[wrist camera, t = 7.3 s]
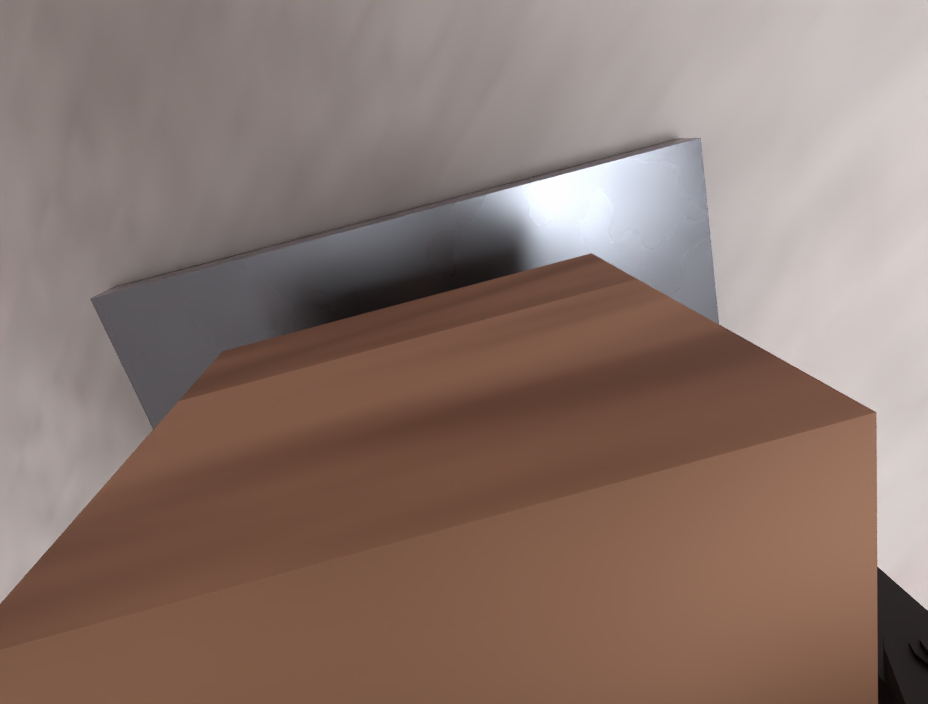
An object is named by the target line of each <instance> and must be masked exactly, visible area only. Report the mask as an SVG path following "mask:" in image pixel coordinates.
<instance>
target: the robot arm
mask: <svg viewBox="0 0 928 704" xmlns="http://www.w3.org/2000/svg"><path fill="white" fill-rule="evenodd" d="M877 633H878V704H928V611H927V610H926V609H925V608H924V607H923V606H921V605H920V604H919V603H918V602H917V601H916V600H915V599H913V598H912V597H911V596H910V595H909V594H908V593H907V592H905V591H904V590H903V589H902V588H901V587H900V586H899V585H898V584H896V583H895V582H894V581H893V580H892V579H891V578H890V577H888V576H887V575H886V574H885V573H884V572H883V571H882V570H881V569H879V568H878V567H877Z"/></svg>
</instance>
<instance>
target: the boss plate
mask: <svg viewBox="0 0 928 704" xmlns="http://www.w3.org/2000/svg"><path fill="white" fill-rule="evenodd" d="M590 253H592V254H594V255H595V256H597V257H599V258H601V259H603V260H604V261H606V262H608V263H610V264H612V265H613V266H615V267H617V268H619V269H620V270H622V271H624V272H626V273H628V274H629V275H631V276H633V277H635V278H637V279H638V280H640V281H642V282H644V283H646V284H647V285H649V286H651V287H653V288H654V289H656V290H658V291H660V292H662V293H663V294H665V295H667V296H669V297H671V298H672V299H674V300H676V301H678V302H679V303H681V304H683V305H685V306H687V307H688V308H690V309H692V310H694V311H696V312H697V313H699V314H701V315H703V316H705V317H706V318H708V319H710V320H712V321H713V322H715V323H717V324H719V320H718V310H717V300H716V290H715V280H714V270H713V260H712V250H711V240H710V230H709V219H708V209H707V199H706V189H705V179H704V169H703V159H702V149H701V139H700V138H680V139H676V140H672V141H668V142H665V143H661V144H657V145H653V146H649V147H646V148H642V149H638V150H634V151H630V152H627V153H623V154H619V155H615V156H611V157H608V158H604V159H600V160H596V161H592V162H589V163H585V164H581V165H577V166H573V167H570V168H566V169H562V170H558V171H554V172H551V173H547V174H543V175H539V176H535V177H532V178H528V179H524V180H520V181H516V182H513V183H509V184H505V185H501V186H497V187H494V188H490V189H486V190H482V191H478V192H475V193H471V194H467V195H463V196H459V197H456V198H452V199H448V200H444V201H440V202H437V203H433V204H429V205H425V206H422V207H418V208H414V209H410V210H406V211H403V212H399V213H395V214H391V215H387V216H384V217H380V218H376V219H372V220H368V221H365V222H361V223H357V224H353V225H349V226H346V227H342V228H338V229H334V230H330V231H327V232H323V233H319V234H315V235H311V236H308V237H304V238H300V239H296V240H292V241H289V242H285V243H281V244H277V245H273V246H270V247H266V248H262V249H258V250H254V251H251V252H247V253H243V254H239V255H235V256H232V257H228V258H224V259H220V260H216V261H213V262H209V263H205V264H201V265H197V266H194V267H190V268H186V269H182V270H178V271H175V272H171V273H167V274H163V275H159V276H156V277H152V278H148V279H144V280H140V281H137V282H133V283H129V284H125V285H121V286H118V287H114V288H111V289H109V290H107V291H105V292H103V293H101V294H99V295H97V296H95V297H93V298H91V301H92V303H93V305H94V307H95V309H96V311H97V313H98V315H99V317H100V320H101V322H102V324H103V326H104V328H105V330H106V332H107V334H108V336H109V338H110V340H111V342H112V344H113V346H114V348H115V351H116V353H117V355H118V357H119V359H120V361H121V363H122V365H123V367H124V369H125V371H126V373H127V375H128V377H129V380H130V382H131V384H132V386H133V388H134V390H135V392H136V394H137V396H138V398H139V400H140V402H141V404H142V406H143V408H144V411H145V413H146V415H147V417H148V419H149V421H150V423H151V425H152V427H153V429H155V427H156V426H157V425H158V424H159V423H160V422H161V421H162V419H163V418H164V417H165V416H166V415H167V414H168V413H169V411H170V410H171V409H172V408H173V407H174V406H175V405H176V403H177V402H178V401H179V400H180V399H181V398H182V397H183V396H184V394H185V393H186V392H187V391H188V390H189V389H190V388H191V386H192V385H193V384H194V383H195V382H196V381H197V380H198V378H199V377H200V376H201V375H202V374H203V373H204V372H205V370H206V369H207V368H208V367H209V366H210V365H211V364H212V363H213V361H214V360H215V359H216V358H217V357H218V356H219V355H220V353H221V352H222V351H225V350H229V349H233V348H237V347H240V346H244V345H248V344H252V343H255V342H259V341H263V340H267V339H270V338H274V337H278V336H282V335H286V334H289V333H293V332H297V331H301V330H304V329H308V328H312V327H316V326H319V325H323V324H327V323H331V322H334V321H338V320H342V319H346V318H349V317H353V316H357V315H361V314H365V313H368V312H372V311H376V310H380V309H383V308H387V307H391V306H395V305H398V304H402V303H406V302H410V301H413V300H417V299H421V298H425V297H429V296H432V295H436V294H440V293H444V292H447V291H451V290H455V289H459V288H462V287H466V286H470V285H474V284H477V283H481V282H485V281H489V280H492V279H496V278H500V277H504V276H508V275H511V274H515V273H519V272H523V271H526V270H530V269H534V268H538V267H541V266H545V265H549V264H553V263H556V262H560V261H564V260H568V259H571V258H575V257H579V256H583V255H587V254H590Z"/></svg>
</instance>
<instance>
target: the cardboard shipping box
mask: <svg viewBox="0 0 928 704" xmlns="http://www.w3.org/2000/svg"><path fill="white" fill-rule="evenodd" d="M0 704H878V633H877V457H876V412H874V411H873V410H871V409H869V408H867V407H866V406H864V405H862V404H860V403H858V402H857V401H855V400H853V399H851V398H849V397H848V396H846V395H844V394H842V393H840V392H839V391H837V390H835V389H833V388H832V387H830V386H828V385H826V384H824V383H823V382H821V381H819V380H817V379H815V378H814V377H812V376H810V375H808V374H806V373H805V372H803V371H801V370H799V369H798V368H796V367H794V366H792V365H790V364H789V363H787V362H785V361H783V360H781V359H780V358H778V357H776V356H774V355H773V354H771V353H769V352H767V351H765V350H764V349H762V348H760V347H758V346H756V345H755V344H753V343H751V342H749V341H747V340H746V339H744V338H742V337H740V336H739V335H737V334H735V333H733V332H731V331H730V330H728V329H726V328H724V327H722V326H721V325H719V324H717V323H715V322H713V321H712V320H710V319H708V318H706V317H705V316H703V315H701V314H699V313H697V312H696V311H694V310H692V309H690V308H688V307H687V306H685V305H683V304H681V303H679V302H678V301H676V300H674V299H672V298H671V297H669V296H667V295H665V294H663V293H662V292H660V291H658V290H656V289H654V288H653V287H651V286H649V285H647V284H646V283H644V282H642V281H640V280H638V279H637V278H635V277H633V276H631V275H629V274H628V273H626V272H624V271H622V270H620V269H619V268H617V267H615V266H613V265H612V264H610V263H608V262H606V261H604V260H603V259H601V258H599V257H597V256H595V255H594V254H592V253H590V254H587V255H583V256H579V257H575V258H571V259H568V260H564V261H560V262H556V263H553V264H549V265H545V266H541V267H538V268H534V269H530V270H526V271H523V272H519V273H515V274H511V275H508V276H504V277H500V278H496V279H492V280H489V281H485V282H481V283H477V284H474V285H470V286H466V287H462V288H459V289H455V290H451V291H447V292H444V293H440V294H436V295H432V296H429V297H425V298H421V299H417V300H413V301H410V302H406V303H402V304H398V305H395V306H391V307H387V308H383V309H380V310H376V311H372V312H368V313H365V314H361V315H357V316H353V317H349V318H346V319H342V320H338V321H334V322H331V323H327V324H323V325H319V326H316V327H312V328H308V329H304V330H301V331H297V332H293V333H289V334H286V335H282V336H278V337H274V338H270V339H267V340H263V341H259V342H255V343H252V344H248V345H244V346H240V347H237V348H233V349H229V350H225V351H222V352H221V353H220V355H219V356H218V357H217V358H216V359H215V360H214V361H213V363H212V364H211V365H210V366H209V367H208V368H207V369H206V370H205V372H204V373H203V374H202V375H201V376H200V377H199V378H198V380H197V381H196V382H195V383H194V384H193V385H192V386H191V388H190V389H189V390H188V391H187V392H186V393H185V394H184V396H183V397H182V398H181V399H180V400H179V401H178V402H177V403H176V405H175V406H174V407H173V408H172V409H171V410H170V411H169V413H168V414H167V415H166V416H165V417H164V418H163V419H162V421H161V422H160V423H159V424H158V425H157V426H156V427H155V429H154V430H153V431H152V432H151V433H150V434H149V435H148V437H147V438H146V439H145V440H144V441H143V442H142V443H141V444H140V446H139V447H138V448H137V449H136V450H135V451H134V452H133V454H132V455H131V456H130V457H129V458H128V459H127V460H126V462H125V463H124V464H123V465H122V466H121V467H120V468H119V470H118V471H117V472H116V473H115V474H114V475H113V476H112V477H111V479H110V480H109V481H108V482H107V483H106V484H105V485H104V487H103V488H102V489H101V490H100V491H99V492H98V493H97V495H96V496H95V497H94V498H93V499H92V500H91V501H90V503H89V504H88V505H87V506H86V507H85V508H84V509H83V511H82V512H81V513H80V514H79V515H78V516H77V517H76V518H75V520H74V521H73V522H72V523H71V524H70V525H69V526H68V528H67V529H66V530H65V531H64V532H63V533H62V534H61V536H60V537H59V538H58V539H57V540H56V541H55V542H54V544H53V545H52V546H51V547H50V548H49V549H48V550H47V551H46V553H45V554H44V555H43V556H42V557H41V558H40V559H39V561H38V562H37V563H36V564H35V565H34V566H33V567H32V569H31V570H30V571H29V572H28V573H27V574H26V575H25V577H24V578H23V579H22V580H21V581H20V582H19V583H18V585H17V586H16V587H15V588H14V589H13V590H12V591H11V592H10V594H9V595H8V596H7V597H6V598H5V599H4V600H3V602H2V603H1V604H0Z"/></svg>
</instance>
